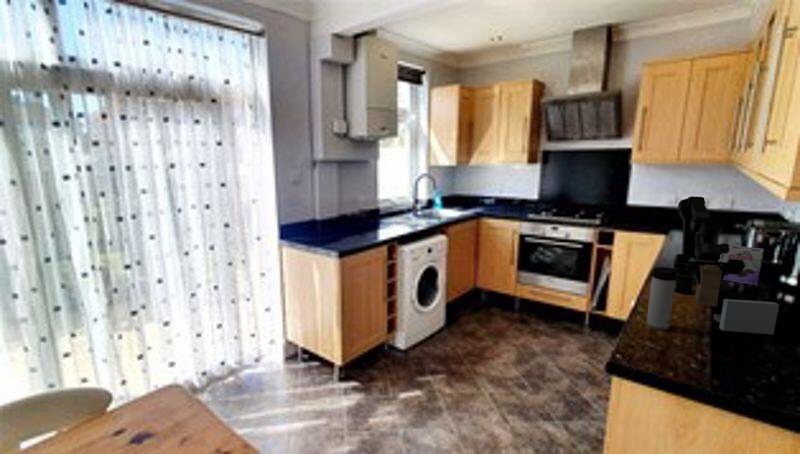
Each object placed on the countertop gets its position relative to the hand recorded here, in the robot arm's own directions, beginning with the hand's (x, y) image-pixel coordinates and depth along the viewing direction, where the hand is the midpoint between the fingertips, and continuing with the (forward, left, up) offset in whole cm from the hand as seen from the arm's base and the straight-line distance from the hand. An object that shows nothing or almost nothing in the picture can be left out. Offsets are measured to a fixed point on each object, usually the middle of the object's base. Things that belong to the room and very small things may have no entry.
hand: (709, 285), depth 129 cm
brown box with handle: (-1, -1, -7) cm, 7 cm away
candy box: (-66, -18, -13) cm, 69 cm away
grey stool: (-7, +6, -13) cm, 16 cm away
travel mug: (+18, -5, -13) cm, 23 cm away
